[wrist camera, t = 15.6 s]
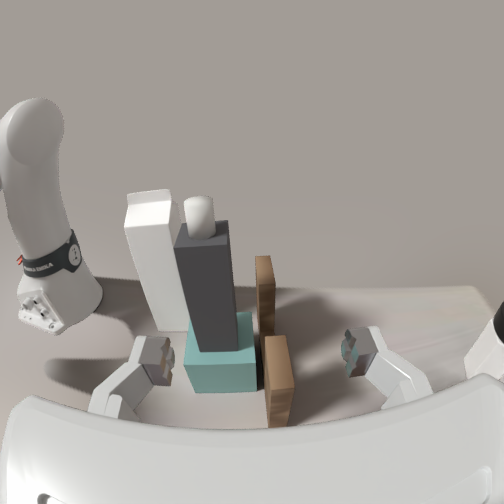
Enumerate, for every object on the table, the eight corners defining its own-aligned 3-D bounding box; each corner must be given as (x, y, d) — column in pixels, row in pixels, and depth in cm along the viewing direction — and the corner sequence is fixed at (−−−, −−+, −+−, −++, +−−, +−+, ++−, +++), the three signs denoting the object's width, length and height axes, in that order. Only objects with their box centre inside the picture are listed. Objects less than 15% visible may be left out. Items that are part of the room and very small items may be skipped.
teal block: (195, 392, 31) (183, 364, 28) (199, 346, 38) (190, 314, 34) (256, 391, 32) (255, 362, 28) (253, 344, 38) (251, 311, 35)
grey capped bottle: (199, 352, 29) (166, 214, 20) (202, 324, 33) (177, 194, 24) (238, 351, 29) (223, 210, 20) (237, 323, 33) (225, 190, 24)
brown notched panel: (268, 431, 27) (271, 389, 20) (257, 315, 43) (255, 256, 37) (285, 429, 27) (295, 387, 20) (269, 314, 43) (270, 255, 37)
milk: (194, 332, 41) (164, 198, 29) (158, 332, 40) (116, 203, 28) (197, 305, 46) (175, 181, 34) (164, 306, 46) (133, 186, 33)
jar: (478, 400, 24) (524, 349, 17) (454, 363, 30) (491, 308, 24) (505, 376, 25) (544, 326, 18) (482, 344, 32) (515, 293, 25)
